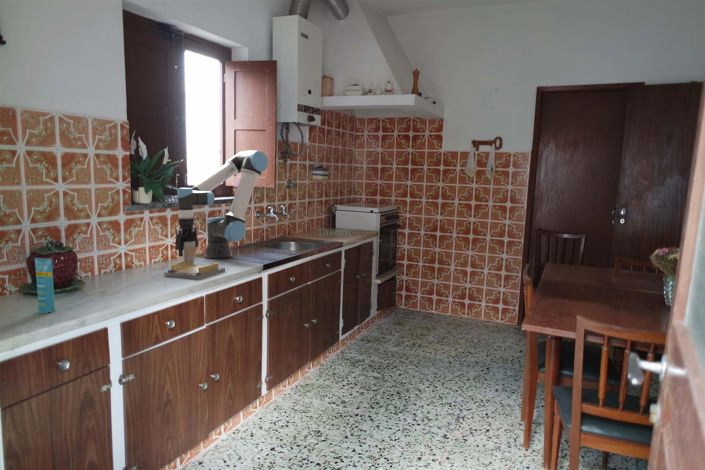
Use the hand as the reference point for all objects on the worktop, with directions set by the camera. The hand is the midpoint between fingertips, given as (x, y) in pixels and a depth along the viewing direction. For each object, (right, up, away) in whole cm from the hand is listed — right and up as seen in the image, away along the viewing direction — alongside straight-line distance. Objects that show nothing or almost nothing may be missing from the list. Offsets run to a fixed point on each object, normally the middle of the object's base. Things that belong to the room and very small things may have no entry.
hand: (187, 260), depth 255 cm
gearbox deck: (+11, -5, -20) cm, 23 cm away
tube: (-21, -14, -84) cm, 88 cm away
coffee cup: (0, -2, 0) cm, 2 cm away
